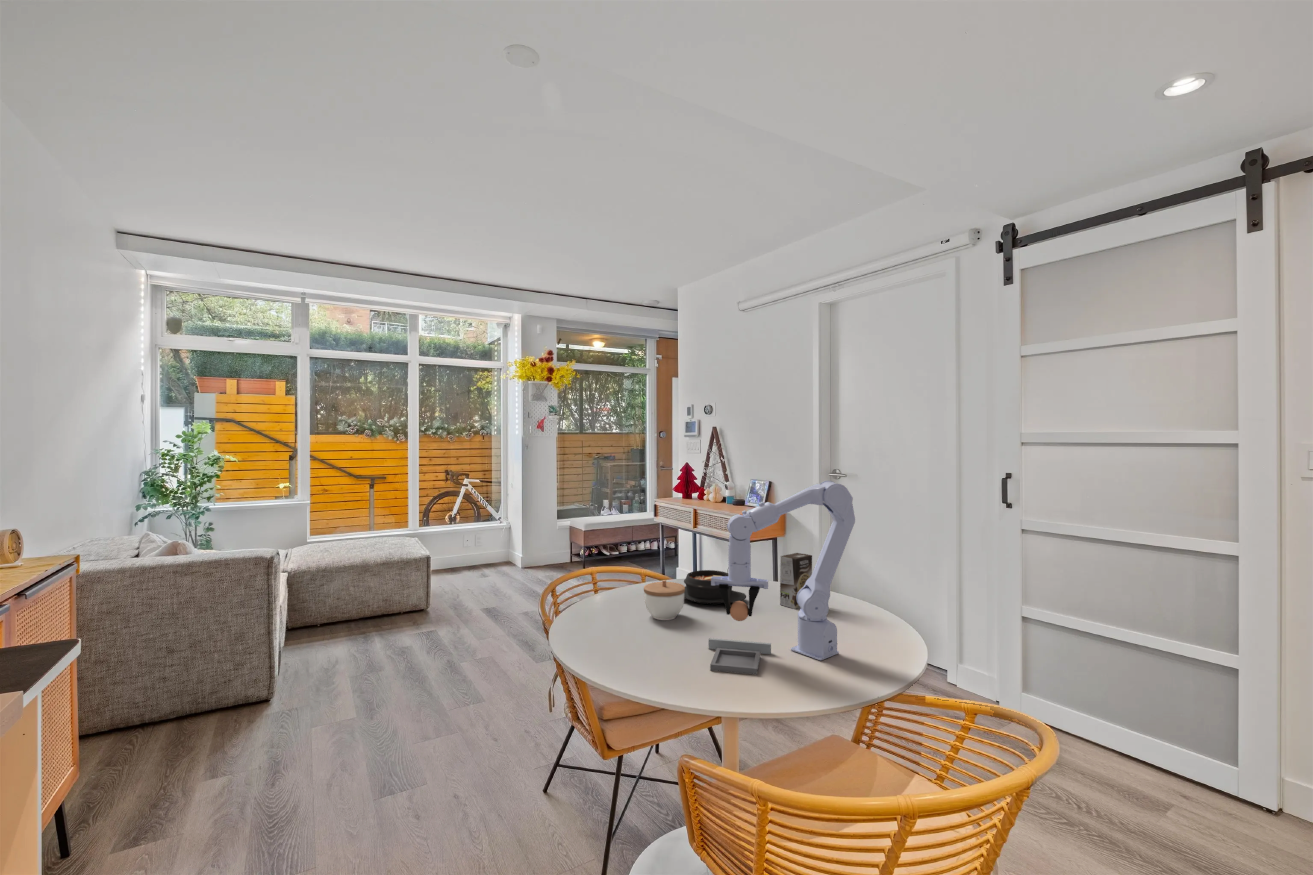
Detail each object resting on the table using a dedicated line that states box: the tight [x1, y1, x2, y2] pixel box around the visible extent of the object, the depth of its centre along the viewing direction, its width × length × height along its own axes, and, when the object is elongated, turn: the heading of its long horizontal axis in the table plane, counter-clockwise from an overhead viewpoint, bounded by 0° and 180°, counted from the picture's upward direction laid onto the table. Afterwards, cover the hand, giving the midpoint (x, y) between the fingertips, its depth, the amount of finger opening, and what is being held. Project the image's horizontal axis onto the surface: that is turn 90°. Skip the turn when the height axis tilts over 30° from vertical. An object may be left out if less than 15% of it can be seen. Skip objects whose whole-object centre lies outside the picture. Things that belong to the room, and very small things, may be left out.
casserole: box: [683, 569, 747, 605], centre depth 200 cm, size 25×19×8 cm
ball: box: [729, 600, 749, 622], centre depth 155 cm, size 5×5×5 cm
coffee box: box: [779, 552, 813, 610], centre depth 195 cm, size 9×6×16 cm
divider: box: [708, 637, 772, 655], centre depth 155 cm, size 16×1×2 cm, turn 76°
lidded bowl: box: [643, 579, 685, 621], centre depth 183 cm, size 13×13×11 cm
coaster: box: [709, 648, 761, 676], centre depth 146 cm, size 11×11×1 cm
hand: (739, 614), depth 155 cm, fingers closed on ball, 5 cm apart
